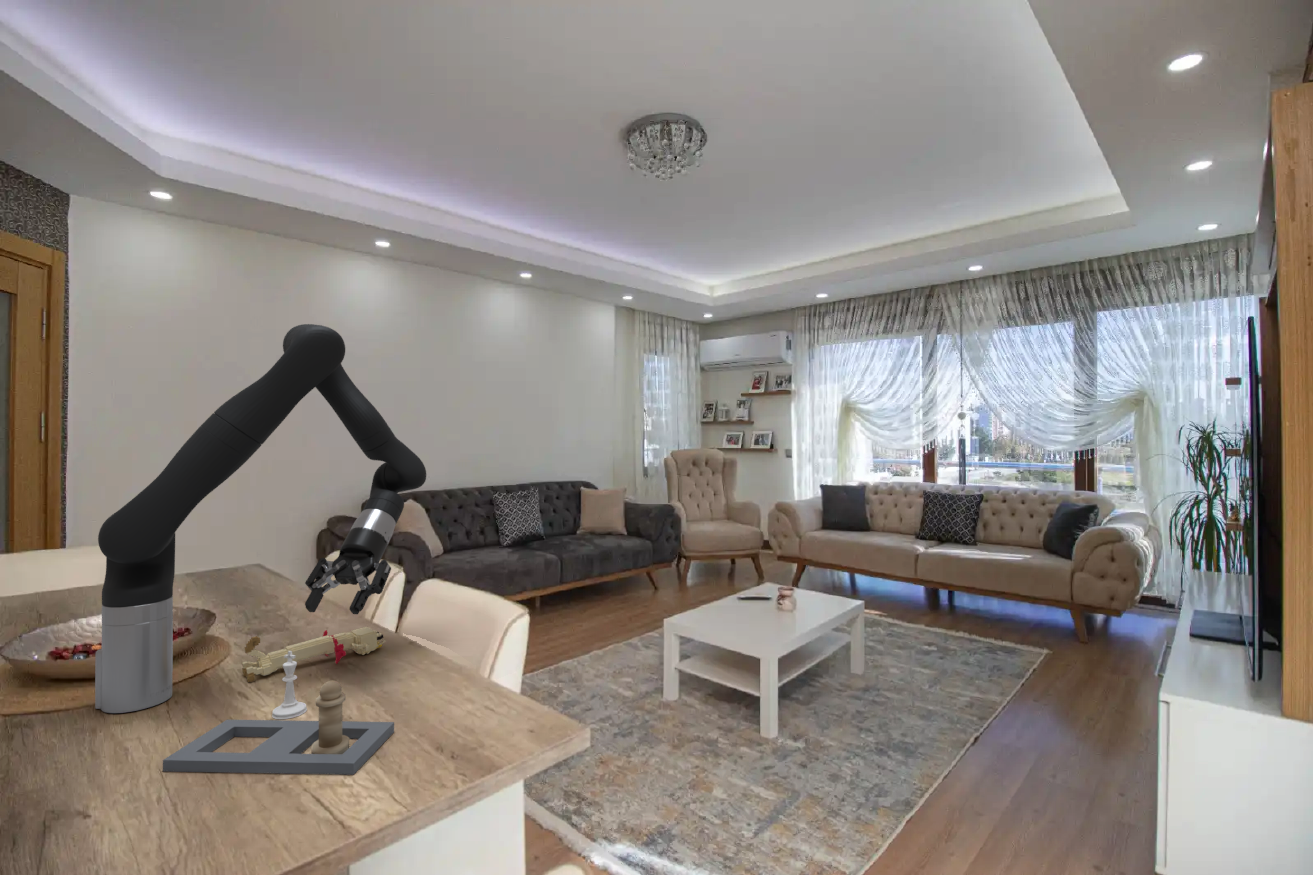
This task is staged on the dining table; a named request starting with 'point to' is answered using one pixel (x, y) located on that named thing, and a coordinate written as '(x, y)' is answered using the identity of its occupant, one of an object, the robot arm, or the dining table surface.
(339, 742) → the pawn
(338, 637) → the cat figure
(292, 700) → the chess piece
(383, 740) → the grey chess piece holder
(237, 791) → the dining table surface
